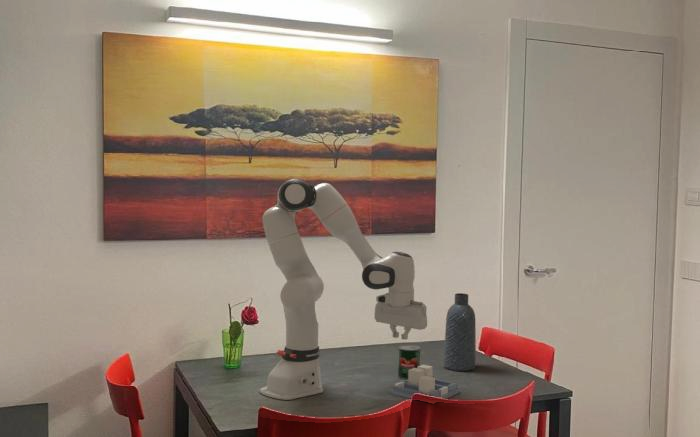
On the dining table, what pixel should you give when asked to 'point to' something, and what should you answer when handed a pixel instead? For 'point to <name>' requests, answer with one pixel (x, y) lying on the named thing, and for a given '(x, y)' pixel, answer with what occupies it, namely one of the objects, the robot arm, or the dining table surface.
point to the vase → (460, 336)
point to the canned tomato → (408, 359)
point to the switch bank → (441, 390)
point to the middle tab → (415, 375)
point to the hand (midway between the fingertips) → (400, 338)
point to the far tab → (426, 370)
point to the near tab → (426, 384)
